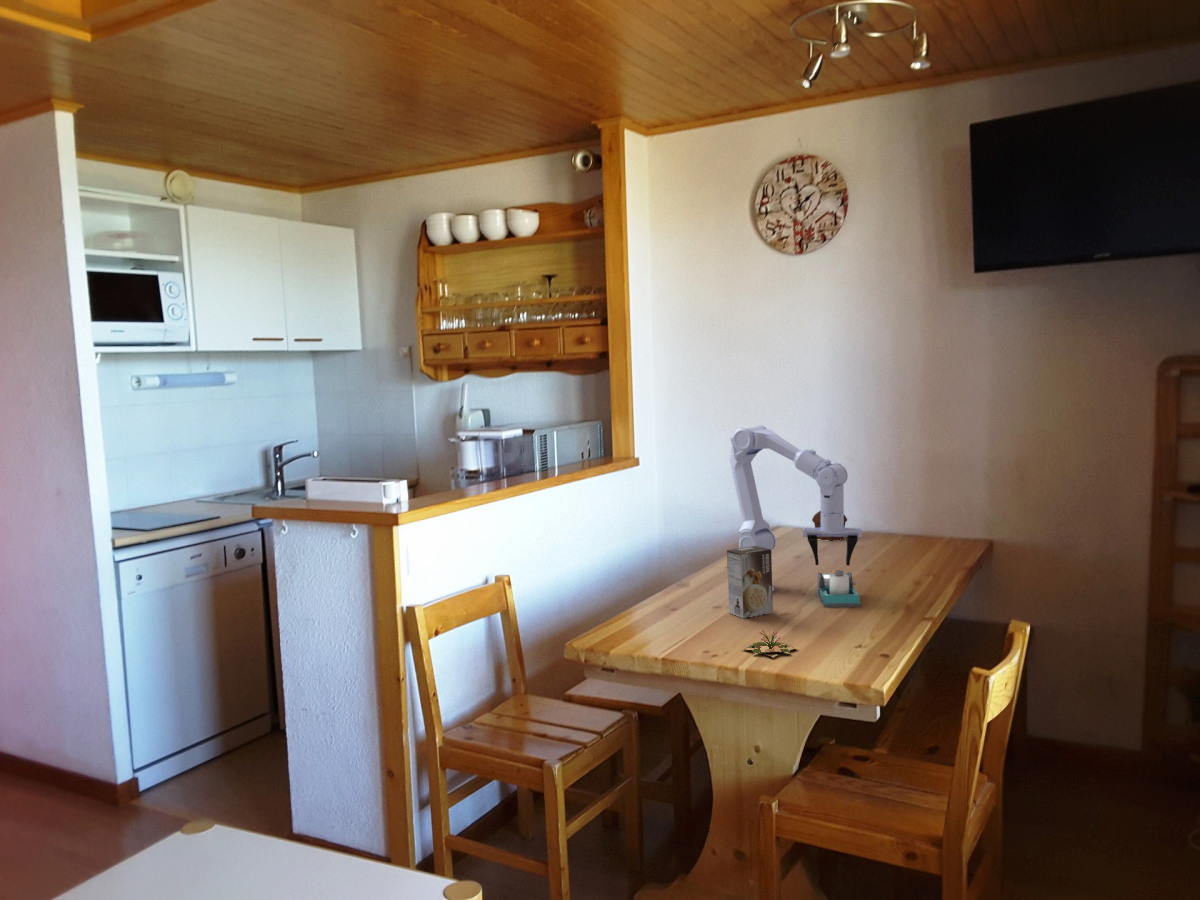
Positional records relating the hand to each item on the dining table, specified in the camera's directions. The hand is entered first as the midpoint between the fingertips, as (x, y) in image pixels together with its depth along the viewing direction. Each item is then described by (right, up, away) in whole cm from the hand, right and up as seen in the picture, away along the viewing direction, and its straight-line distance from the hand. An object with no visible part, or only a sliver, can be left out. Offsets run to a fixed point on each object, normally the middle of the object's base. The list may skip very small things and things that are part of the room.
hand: (832, 564), depth 246 cm
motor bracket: (+2, -9, +1) cm, 9 cm away
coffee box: (-22, -11, -9) cm, 26 cm away
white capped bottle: (+1, -9, -2) cm, 9 cm away
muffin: (+19, -1, +81) cm, 83 cm away
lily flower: (-23, -15, -39) cm, 47 cm away
